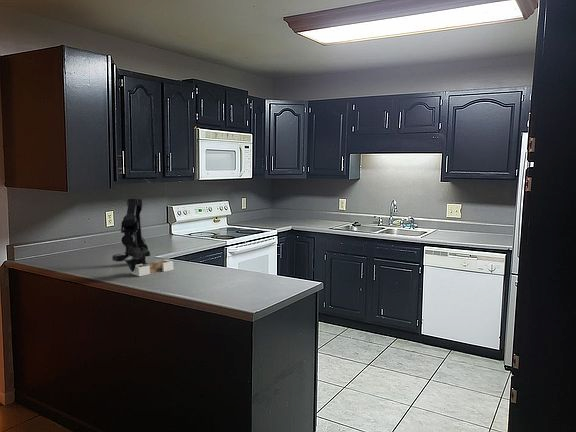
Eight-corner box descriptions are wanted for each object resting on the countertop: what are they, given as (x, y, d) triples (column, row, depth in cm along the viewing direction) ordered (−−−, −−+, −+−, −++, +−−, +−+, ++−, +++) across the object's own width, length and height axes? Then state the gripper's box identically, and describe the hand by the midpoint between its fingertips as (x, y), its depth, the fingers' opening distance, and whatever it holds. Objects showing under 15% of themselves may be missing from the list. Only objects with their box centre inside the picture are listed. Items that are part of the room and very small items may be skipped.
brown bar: (163, 269, 261) (162, 260, 260) (167, 269, 259) (166, 260, 258) (139, 274, 248) (138, 265, 247) (143, 275, 246) (142, 266, 245)
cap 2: (155, 269, 259) (155, 261, 258) (165, 267, 263) (165, 259, 263) (163, 271, 253) (163, 263, 253) (173, 269, 258) (173, 261, 257)
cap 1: (131, 274, 248) (131, 265, 247) (142, 271, 253) (141, 263, 252) (139, 276, 243) (138, 267, 242) (150, 274, 247) (149, 265, 247)
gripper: (121, 246, 230) (123, 277, 232) (155, 241, 244) (156, 270, 245) (110, 244, 238) (112, 274, 239) (144, 239, 251) (145, 267, 253)
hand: (132, 271), depth 244 cm, fingers closed
